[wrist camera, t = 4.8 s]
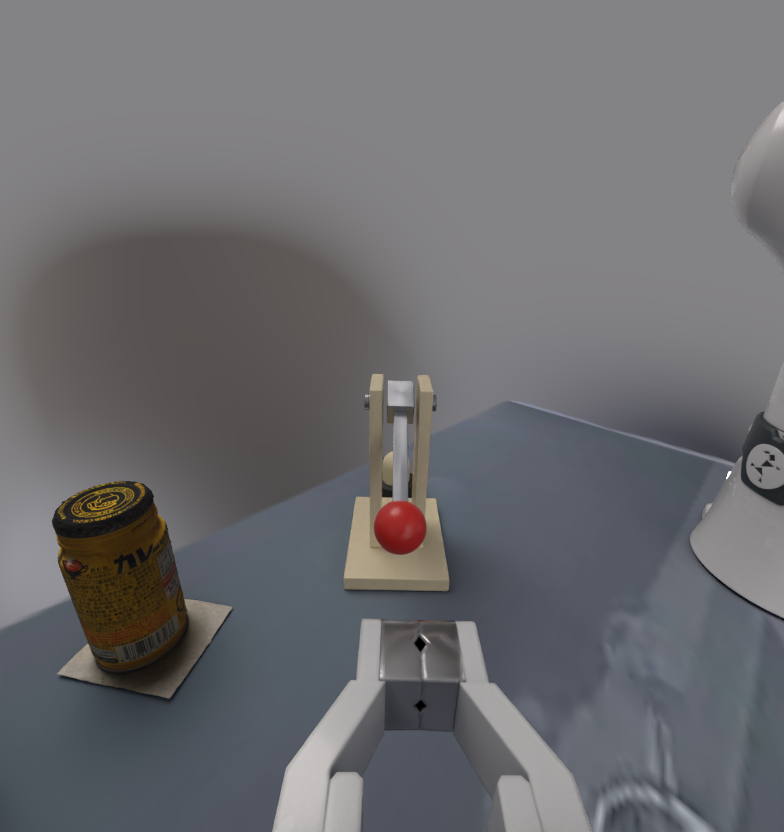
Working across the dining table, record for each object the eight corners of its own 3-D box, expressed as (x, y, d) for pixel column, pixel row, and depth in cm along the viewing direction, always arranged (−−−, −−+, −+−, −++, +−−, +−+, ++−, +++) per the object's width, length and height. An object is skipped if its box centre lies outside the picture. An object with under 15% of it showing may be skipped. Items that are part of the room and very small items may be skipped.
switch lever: (425, 562, 27) (430, 544, 24) (373, 561, 27) (371, 543, 24) (419, 403, 36) (422, 376, 33) (380, 402, 36) (379, 375, 33)
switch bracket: (448, 591, 34) (467, 409, 27) (343, 589, 34) (337, 407, 27) (435, 507, 45) (446, 364, 39) (356, 506, 45) (353, 362, 38)
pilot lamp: (414, 481, 50) (416, 443, 48) (416, 504, 46) (418, 463, 43) (376, 480, 50) (376, 442, 48) (374, 503, 46) (375, 462, 43)
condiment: (140, 591, 33) (103, 467, 29) (232, 608, 32) (209, 480, 27) (57, 676, 27) (-8, 532, 22) (170, 702, 25) (125, 554, 21)
